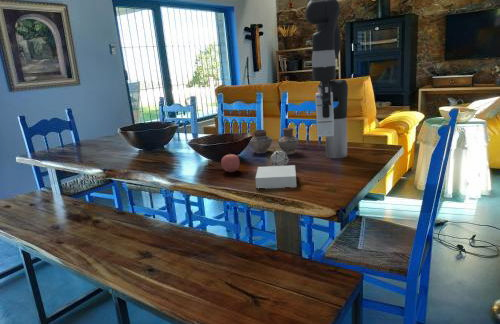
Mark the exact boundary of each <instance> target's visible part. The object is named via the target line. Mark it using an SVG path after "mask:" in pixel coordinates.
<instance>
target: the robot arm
mask: <svg viewBox="0 0 500 324" xmlns="http://www.w3.org/2000/svg"><path fill="white" fill-rule="evenodd" d="M340 10H341V7H340V3H339V2H338V0H309V2H308V3H307V5H306V7H305V18H306V21H307V22H308V23H309V24H310V25H316V32H314V33H313V34H312V37H311V39H312V46H311V47H312V57H311V66H312V67H311V69H312V70H311V71H312V73H311V74H312V81H315V82H319V84H318V86H317V91H318V93H320V99H321V100H322V106H323V107H322V113H323V118H329V116H330V115H329V106H330V104H331V92H332V93H333V103H337V105H336V106H335V107H333V109H334V136H327V137H325V157H326V158H328V159H343V158H347V157H348V93H349V85H348V83H347V82H348V81H347V80H346V79H336V78H337V73H336V72H337V71H336V70H337V69H336V68H337V67H336V59H338V58H337V57H338V56H339V54H340V51H341V49H342V33H341V29H340V26H339V25H338V19H339V16H340ZM324 99H328V101H324Z"/></svg>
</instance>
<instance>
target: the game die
mask: <svg viewBox="0 0 500 324" xmlns="http://www.w3.org/2000/svg"><path fill="white" fill-rule="evenodd" d="M273 150H274V152H273V153H272V154H271V155H270V156H269V157H268V158H267V160H269V161H270V162H271V165H272V166H287V164H289V162H291V161H292V160H291V159H289V157H288V154H286V152H285V151H286V150H285V151H283V150H276V149H275V148H273Z"/></svg>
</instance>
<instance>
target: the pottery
mask: <svg viewBox="0 0 500 324" xmlns="http://www.w3.org/2000/svg"><path fill="white" fill-rule="evenodd" d="M293 131H294V127H286V128H285V127H284V128H282V133H283V136H282V137H280V138H279V139H278V140H277V142H278V146H279V148H280V149H281V151H285V150H286V151H285V152H286V154H287V155H293V154H296V152H295V151H296V149H297V148H298V145H299V141H300V139H299V138H298V137H297V136H295V135H293V134H294V133H293ZM250 139H251V140H250ZM250 139H249V140H250V142H249V144H250V147H251V148H252V149H253V150H254V152H255V154H266V153H267V152H268V149H270V147H271V145H272V142H273V138H272V137H270V136H268V135H267V130H266V129H256V130H254V131H253V137H252V138H250Z"/></svg>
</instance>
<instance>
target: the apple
mask: <svg viewBox="0 0 500 324" xmlns="http://www.w3.org/2000/svg"><path fill="white" fill-rule="evenodd" d="M220 162H221V164H220V165H221V167H222V169H223V170H224V171H225V172H228V173H233V172H236V171H237V170H238V168H240V167H239V166H240V158H239V156H238V155H236V154H232V153H228V154H226V155H224V156H222V158H221V161H220Z"/></svg>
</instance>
